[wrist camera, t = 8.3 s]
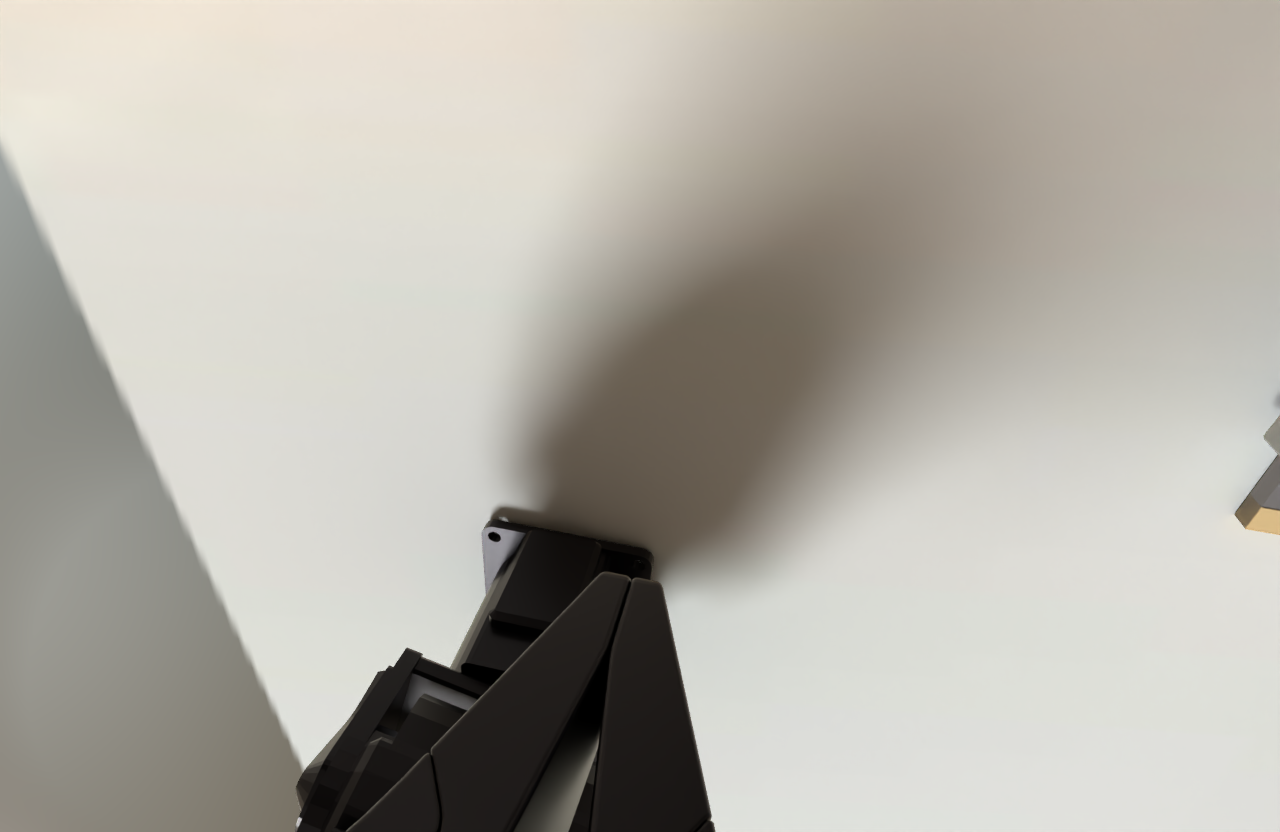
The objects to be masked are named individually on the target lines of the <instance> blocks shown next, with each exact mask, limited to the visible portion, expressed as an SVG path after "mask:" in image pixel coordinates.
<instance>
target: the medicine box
mask: <svg viewBox="0 0 1280 832" xmlns="http://www.w3.org/2000/svg"><path fill="white" fill-rule="evenodd" d="M1264 440H1265V441H1266V442H1267V443H1268V444H1269V445H1270V446H1271V447H1272V448H1273V449H1274V450H1275V452H1276V453H1277V454H1278V455H1279V456H1280V416H1279V417H1278V418H1277V420H1276V421H1275V422H1274V423H1273V425H1272V426H1271V427H1270V428H1269V429H1268V431H1267V432H1266V433H1265V435H1264Z"/></svg>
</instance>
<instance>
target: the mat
mask: <svg viewBox="0 0 1280 832" xmlns="http://www.w3.org/2000/svg"><path fill="white" fill-rule="evenodd" d="M1234 515H1235V516H1236V517H1237V518H1238V520H1239V521H1240V522H1241V524H1242V525H1243V526H1244V527H1245V529H1248V530H1254V531H1260V532H1265V533H1271V534H1277V535H1280V456H1279V455H1278V456H1277V457H1276V459H1275V460H1274V462H1273V463H1272V464H1271V466H1270V467H1269V468H1268V470H1267V471H1266V472H1265V474H1264V475H1263V476H1262V478H1261V479H1260V480H1259V482H1258V483H1257V485H1256V486H1255V487H1254V489H1253V490H1252V491H1251V493H1250V494H1249V495H1248V497H1247V498H1246V499H1245V501H1244V502H1243V503H1242V505H1241V506H1240V508H1239V509H1238V510H1237V512H1236V513H1235V514H1234Z"/></svg>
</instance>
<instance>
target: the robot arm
mask: <svg viewBox="0 0 1280 832" xmlns="http://www.w3.org/2000/svg"><path fill="white" fill-rule="evenodd" d="M494 532H496V533H498V534H499V535H498V534H495V533H494ZM482 544H483V559H484V573H485V588H486V596H485V598H484V600H483V602H482V604H481V606H480V608H479V610H478V612H477V614H476V616H475V618H474V620H473V622H472V624H471V626H470V628H469V630H468V632H467V635H466V637H465V639H464V641H463V643H462V645H461V647H460V649H459V651H458V653H457V655H456V657H455V659H454V661H453V663H452V665H451V667H450V668H449V667H446V666H444V665H441V664H439V663H436V662H434V661H431V660H429V659H426V658H424V657H422V655H423V654H422V653H419V652H417V651H414V650H412V649H409V648H406V649H405V651H404V652H403V654H402V655H401V657H400V658H399V660H398V661H397V663H396V664H395V666H394V667H392V666H388V668H387V669H386V671H380V672H378V673H377V675H376V676H375V678H374V680H373V681H372V683H371V685H370V687H369V688H368V690H367V692H366V693H365V695H364V697H363V698H362V700H361V702H360V703H359V705H358V706H357V708H356V710H355V711H354V712H353V714H352V715H351V717H350V718H349V719H348V721H347V722H346V723H345V724H344V726H343V727H342V728H341V729H340V730H339V731H338V732H337V734H336V735H335V736H334V737H333V738H332V739H331V740H330V742H329V743H328V744H327V745H326V746H325V747H324V748H323V750H322V751H321V752H320V753H319V754H318V755H317V756H316V758H315V759H314V760H313V761H312V762H311V763H310V764H309V766H308V767H307V768H306V769H305V771H304V772H303V774H302V776H301V777H300V779H299V781H298V784H297V786H296V789H295V791H296V795H297V799H298V804H299V808H300V811H301V813H300V816H299V818H298V821H297V824H296V829H295V832H715V827H714V823H713V822H712V821H711V817H712V815H711V810H710V805H709V801H708V796H707V791H706V787H705V782H704V777H703V773H702V768H701V763H700V759H699V754H698V749H697V745H696V740H695V736H694V731H693V726H692V722H691V717H690V712H689V708H688V703H687V698H686V694H685V689H684V684H683V680H682V675H681V670H680V666H679V661H678V656H677V652H676V647H675V642H674V638H673V633H672V628H671V624H670V619H669V614H668V610H667V605H666V600H665V596H664V591H663V587H662V585H661V583H659V582H657V581H652V580H651V579H652V571H653V563H654V558H653V555H652V554H651V553H650V552H649V551H648V550H646V549H643V548H639V547H634V546H628V545H623V544H618V543H613V542H608V541H603V540H598V539H593V538H587V537H582V536H577V535H572V534H567V533H562V532H557V531H552V530H546V529H541V528H536V527H531V526H526V525H521V524H516V523H511V522H505V521H500V520H491V521H489V522H488V523H487V524H486V526H485V527H484V529H483V531H482ZM636 560H639V561H642V562H643V563H639V562H637V561H636Z"/></svg>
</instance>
